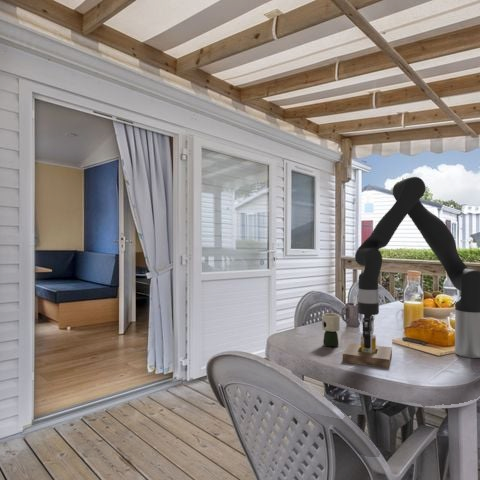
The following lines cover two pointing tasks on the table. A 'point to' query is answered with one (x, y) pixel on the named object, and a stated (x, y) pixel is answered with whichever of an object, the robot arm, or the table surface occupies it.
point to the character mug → (330, 328)
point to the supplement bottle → (373, 343)
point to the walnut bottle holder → (368, 356)
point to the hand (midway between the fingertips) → (368, 345)
